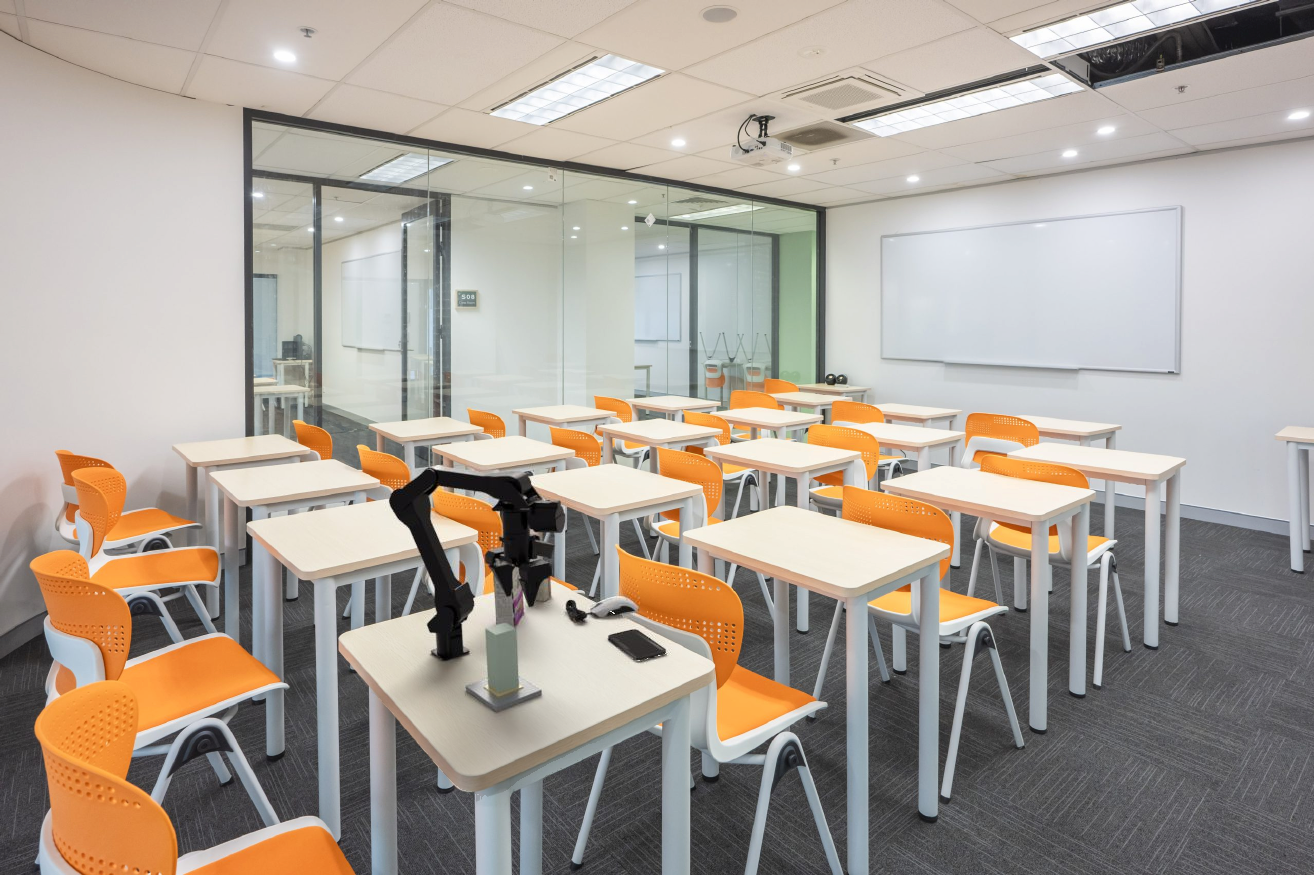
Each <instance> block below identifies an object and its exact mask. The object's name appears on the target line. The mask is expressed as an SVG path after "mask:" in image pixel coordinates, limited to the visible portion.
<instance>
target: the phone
mask: <svg viewBox="0 0 1314 875" xmlns="http://www.w3.org/2000/svg"><path fill="white" fill-rule="evenodd" d="M607 640H608V641H609V642H610V643H612V644H613V645H614V646H615V647H617V648H618V647H619V648H620V649H619V648H618V649H619V650H621V652H623V651H624V652H623V653H624V654H626V655H627V654H628V655H629V657H630V656H631V657H632V658H633V659H632V658H631V657H630V658H631V659H632V660H633V661H635V660H643V661H645V660H644V659H647V658H651V657H653V656H658V655H662V656H664V655H663V654H665V653H666V654H667V649H666V648H665V647H663V646H662V645H661V644H659V643H658V642H656V641H655V640H653V639H652V638H651V637H649V636H647V635H646V634H645V633H644V632H642V631H640V630H639V629H636V628H634V629H632V628H631V629H628V630H623V631H619V632H615V633H612V634H608V636H607ZM666 654H665V655H666ZM628 655H627V656H628ZM658 657H659V656H658ZM647 660H648V659H647Z"/></svg>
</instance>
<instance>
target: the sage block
mask: <svg viewBox="0 0 1314 875" xmlns="http://www.w3.org/2000/svg"><path fill="white" fill-rule="evenodd" d="M484 629H485V632H484V633H485V647H486V650H485V651H486V652H485V653H486V665H487V668H486V670H487V678H488V687H490V688H491V689H492V690H494V691H495V692H496V693H498V694H501V693H504V692H507V691H510V690H512V689H515V688H518V687H519V676H520V675H519V659H518V658H519V657H518V656H519V655H518V638H517V636H518V635H517V634H518V633H517V628H516V627H512V626H511V625H509V624H507V623H506V622H505V623H502V624H498V625H492V626H489V627H485V628H484ZM518 675H519V676H518Z"/></svg>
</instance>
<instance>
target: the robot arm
mask: <svg viewBox="0 0 1314 875" xmlns="http://www.w3.org/2000/svg"><path fill="white" fill-rule="evenodd" d="M439 487H443V488H444V487H445V488H451V489H457V490H464V491H471V492H479V493H484V494H486V495H488V496H490V497H492V499H496V500H498V501H497V503H496V504H495V505H494V506H493V507H491V511H492V512H501V523H502V526H501V527H502V535H499V536H498V541H499V542H502V543H503V546H501V547H497V548H492V549H488V550H487V551H486V552H485V555H484V564H487V566H488V569H490V570H491V572H492V575H493V574H494V576H495V577H496V579H497V581H498V582H499V584H500V586H501V588H502V590H503V591H504V593H505V595H506V596H507V597H509V596H511V593H512V577H513V570H514V568H515V567H518V568H519V575H520V577H521V578H520V579H519V582H520V585H521V587H522V590H523V597H524V598H525V602H526V604H527V606H528V608H532V607H534V606H535V602H536V601H537V600H536V597H537V593H538V590H539V587H540V585H541V583H542V582H543V581H544V579H547V578H549V576H550V577H552V576H553V575H554V570H553V567H554V565H553V564H551V563H550V562H548V561H546V560H542V559H538V557H544V558H547V559H553V556H554V551H555V547H556V544H554V543H551V542H548V541H544V540H541V537H540V536H539V534H535V533H548V534H549V533H550V534H551V533H552V534H562V532H564V530H565V526H566V513H565V510H564V508H563V506H562V503H561V502H562V501H561V500H560V499H558V500H557V499H556V500H555V499H553V500H543V498H542V496H541V495H540V494H539V492H538V491H537V490H536V489H535V487H534V486H533V485H532V480H531V478H530V477H529V475H528V474H527V473H526V472H524V471H522V470H521V471H520V470H516V471H515V470H514V471H513V470H511V471H501V472H485V471H477V470H472V469H471V470H469V469H463V468H456V467H450V466H449V467H448V466H443V465H441V464H437V465H433V466H430V467H427V468H426V469H424V470H423V471H422V472H421V473H420V474H419V475H418V476H416V477H415V478H414V479H412V480H411V481H409V482H408V483H407V484H405V485H404V486H402V487H401V486H400V487H399V488H396V489H395V490H393V491H391V493H390V496H389V498H388V503H389V507H390V508H391V510H392V512H393V513H394V515H395V516H396V518H397V520H398V521H399V522H400V523H402V524H403V525H404V526H406V528H408V530H409V531H410V534H411V536H412V539H413V541H414V543H415V545H416V548H417V550H418V553H419V555H420V557H421V560H422V562H423V564H424V567H425V570H426V571H427V574H428V576H429V578H430V581H431V583H432V585H433V588H434V593H433V594H434V596H433V604H434V607H435V611H436V614H435V615H434V616H433V617H431V619H430V620H429V621H428V622H427V623H426V626H427V630H428V632H429V634H430V633H431V634H435V642H436V648H433V649H431V650H430V653H431V654H432V653H433V655H434V656H435V657H437V658H438V659H440V660H441V661H448V660H451V659H453V658H457V657H460V656H463V655H466V654H469V653H470V649H469V648H467V647H466V646H464V640H463V635H464V634H463V623H464V622H466V621H467V620H468V617H469V615H470V614H471V613H472V612H473V611H474V607H475V601H474V599H475V598H476V596H475V594H474V593H473V591H472V590H471V587H470V583H469V582H468V581H465V582H463V583H462V582H461V581H460V580H459V579H458V578H457V577H456V576H455V572H454V571H453V569H452V566H451V564H450V561H449V560H448V557H447V555H446V552H445V550H444V548H443V545H442V544H441V543H442V542H441V541H440V538H439V536H438V534H437V531H436V529H435V526H434V524H433V522H432V519H431V517H432V516H431V515H432V514H431V513H432V504H431V501H430V496H431V495H432V494H433V493H434V492H435V491H436V490H437V489H438V488H439ZM531 530H532V531H533V532H534V533H531ZM531 560H532V561H531Z"/></svg>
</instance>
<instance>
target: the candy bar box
mask: <svg viewBox="0 0 1314 875" xmlns="http://www.w3.org/2000/svg"><path fill="white" fill-rule="evenodd" d="M492 575H493V576H492V578H493V590H494V591H493V593H494V606H495V608H494V609H495V622H496V625H498V624H502V623H505V622H506V623H507V624H509V625H511V626H512V627H514V628H516V627H517V625H518V623H519V621H520V619H521V618H522V615H523V613H525V608H524V593H523V590H522V587H521V585H520V582H519V579H520V578H521V577H520V575H519V568H518V567H515V568H514V570H513V577H512V593H511V596H509V597H507V596H506V595H505V593H504V591H503V590H502V588H501V586H500V584H499V582H498V581H497V579H496V577H495V576H494V574H493V573H492Z"/></svg>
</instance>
